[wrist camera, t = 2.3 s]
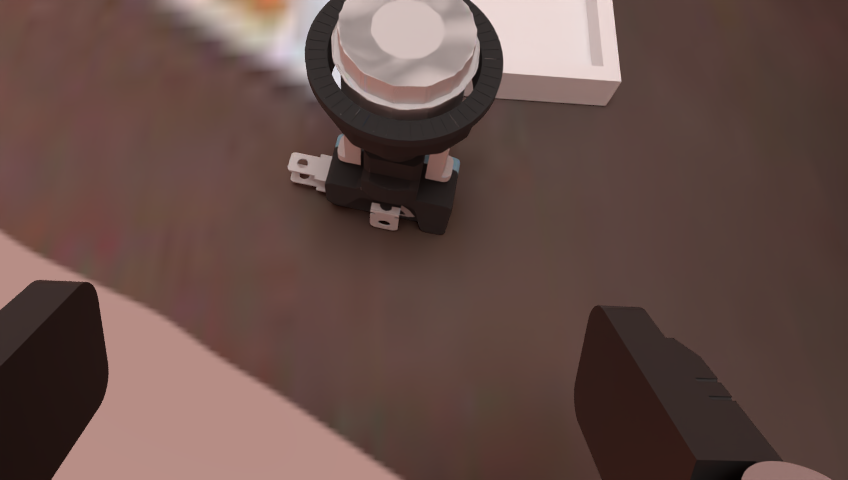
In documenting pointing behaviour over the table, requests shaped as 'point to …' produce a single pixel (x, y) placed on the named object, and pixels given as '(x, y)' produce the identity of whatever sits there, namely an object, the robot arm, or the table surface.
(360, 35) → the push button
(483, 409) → the table surface
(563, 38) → the white button tray
